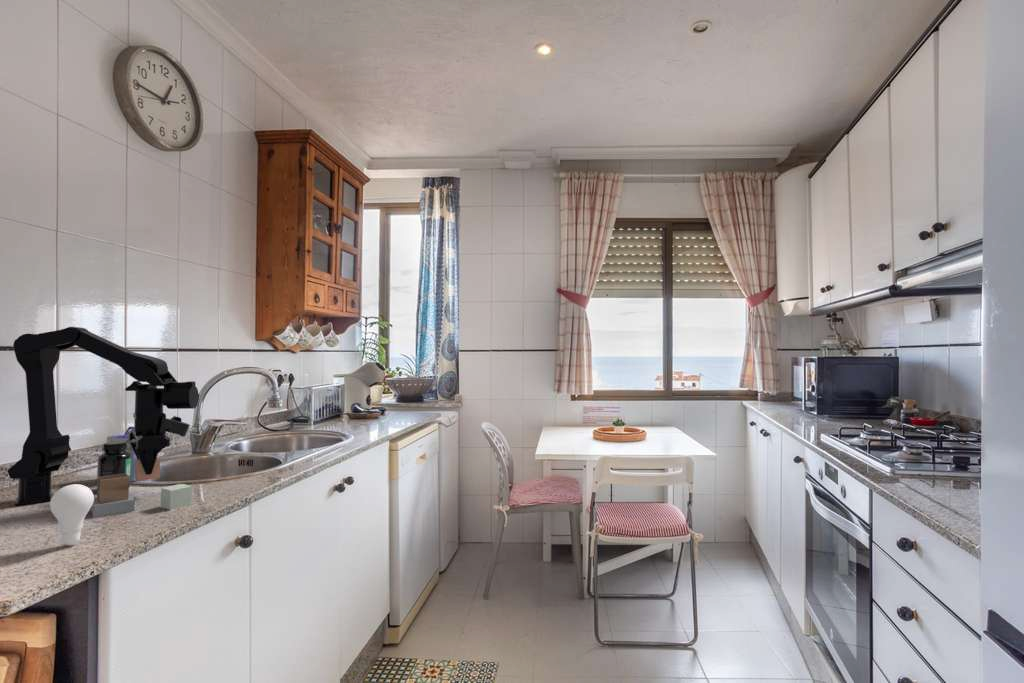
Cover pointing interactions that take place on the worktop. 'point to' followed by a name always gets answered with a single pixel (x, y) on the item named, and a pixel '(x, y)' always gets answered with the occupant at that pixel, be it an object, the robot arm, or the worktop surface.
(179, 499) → the sage block
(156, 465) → the terracotta block
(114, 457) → the supplement bottle
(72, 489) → the lightbulb
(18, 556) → the worktop surface
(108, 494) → the walnut cube
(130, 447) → the ink cartridge box
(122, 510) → the slate base block
